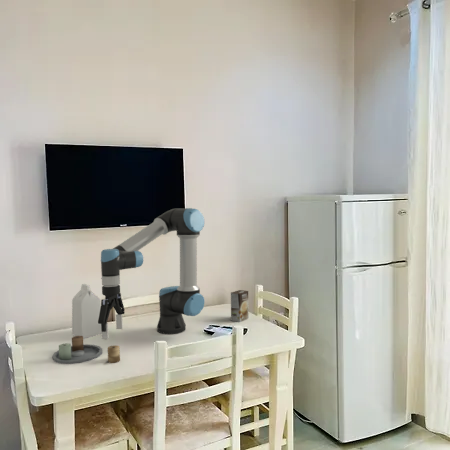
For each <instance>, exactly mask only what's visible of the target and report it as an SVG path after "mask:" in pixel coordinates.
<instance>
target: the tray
mask: <svg viewBox="0 0 450 450" xmlns="http://www.w3.org/2000/svg"><path fill="white" fill-rule="evenodd" d="M83 346H84V350H78V351H74V352H73V351H72V345H71V359H70V360H61V359H59V349H58V350H57V351H55V352H53V354H52V356H51V357H52V361H54V363H58V364H61V365H72V364H74V365H75V364H82V363H86V362H91V361H93V360H95V359H98V358H99V357H100V356H101V355H102V354H103V348H102V347H101V346H100V345H96V344H85V343H83Z"/></svg>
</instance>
